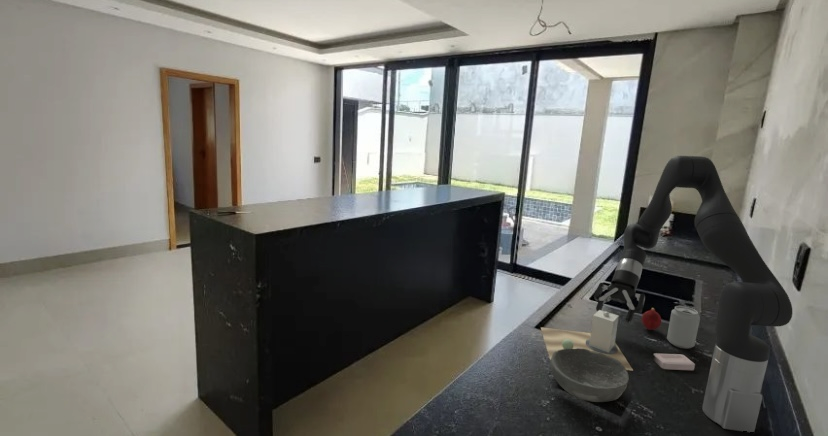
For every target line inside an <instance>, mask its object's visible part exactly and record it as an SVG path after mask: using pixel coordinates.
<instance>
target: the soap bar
mask: <svg viewBox="0 0 828 436" xmlns="http://www.w3.org/2000/svg"><path fill="white" fill-rule="evenodd" d="M653 356H654V358H652V360H653V361H654V362H655V364H657V365H658V366H659V367H660V368H661V369H663V370H679V371H695V366H696V363H694V362H693V361H692V360H690V359H689V358H688V357H687V356H686V355H684V354H677V353H657V352H656V353H653Z"/></svg>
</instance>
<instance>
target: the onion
mask: <svg viewBox="0 0 828 436" xmlns="http://www.w3.org/2000/svg"><path fill="white" fill-rule="evenodd" d="M661 317H662V316H661V315H660V313H658V312H657V311H656V309H655V308H654V307H651V309H649V310H647V311H645V312H643V313H642V316H641V322H642V324H643V326H644V327H645V328H646V329H647V330H649V331H652V330H657V329H658V328H659V327H660V326H661V324H662V318H661Z"/></svg>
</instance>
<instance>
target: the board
mask: <svg viewBox="0 0 828 436" xmlns="http://www.w3.org/2000/svg"><path fill="white" fill-rule="evenodd" d="M540 329H541V333H542V336H543V337H542V338H543V341H544V343H545V348H546V350H547V354H548V358H549V360H550V361H551V358H552V355H553V353H554V352H555V351H558V350H562V349H564V348H563V346H562V342H563V341H564V340H566V339H568V340H571V341H572V342H573V345H574V347H573V349H577V348H579V349H587V350H590V351H594V352H597V353H601V354H604V355H606V356H610V357H612V358H614V359H616V360H618V361H619V362H621V364H622V365H623V366H624V367H625V369H626V371H632V372H633V371H634V369H633V368H632V366H631V365H630V363H629V362H628V360H627V358H626V357H625V355H624V354H623V351H621V349H620V348H619V346H618V345H617V343H616V342H615V344H614V347H613V348H612V349H611V350H610V352H609V353H608V352H606V351H603V350H600V349H597V348H595V347H592V346H589V343H590V336H591V332H583V331H576V330H575V331H574V330H566V329H559V328H557V329H556V328H551V327H550V328H549V327H541V326H540Z"/></svg>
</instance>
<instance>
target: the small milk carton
mask: <svg viewBox="0 0 828 436" xmlns="http://www.w3.org/2000/svg"><path fill="white" fill-rule="evenodd" d="M619 317H620V316H619V315H618V314H615V313H612V312H609V311H606V310H605V311H604V310H603V309H602V310H599V311H598V312H597V311H596V312H595V313H594V314H593V315H592V322H591V329H590V333H591V336H590V343H589V346H592V347H595V348H597V349H600V350H603V351H606V352H608V353H609V352H610V350H611V349H612V348H613V347H614V344H615V343H616V337H617V329H618V323H619Z"/></svg>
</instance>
